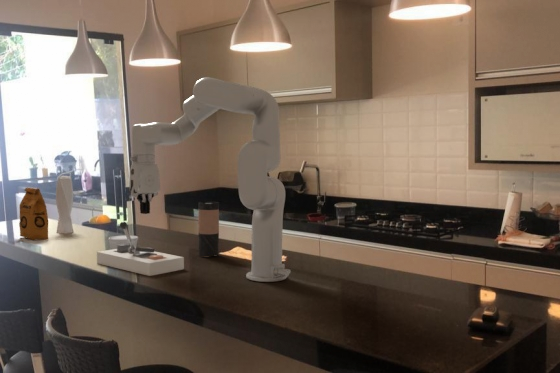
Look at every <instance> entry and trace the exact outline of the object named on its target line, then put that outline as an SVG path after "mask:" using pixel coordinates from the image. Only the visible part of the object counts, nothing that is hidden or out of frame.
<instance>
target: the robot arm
mask: <svg viewBox="0 0 560 373" xmlns="http://www.w3.org/2000/svg"><path fill="white" fill-rule="evenodd" d="M192 94H193V95H192V96H190V97H189V98H187V99H186V100H184V101H183V103H182V112H183V113H184V114H183V115H182V116H181V117H179V118H178V119H176V120H175V121H173V122H172V123H171V122H158V121H157V122H150V123H136V124H133V125H132V126H131V151H132V153H131V154H132V156H130V157H129V161H131V162H132V164H131V165H130V169H129V182H128V184H129V185H128V186H129V192H130V197H131V198H136V199H137V201H138V203H139V211H140V212H139V213H140V214H142V215H143V214H144V215H147V214H148V215H149V214H151V202H152V200H153V198H154V197H157V196H158V195H159V192H160V191H161V178H160V171H159V166H158V164H157V163H156V155H155V154H156V153H155V152H156V150H155V148H156V147H155V146H175V145H178V144H180V143H181V142H183V141H185V140H186V139H188V138H189V137H191V136H192V135H193V134H194V133H195V132H196V131H197V129H198V128H199V126H200V124H201V123H202V122H203V121H205V120H206V119H208V118H209V117H210V116H212V115H213V114H214V113H216V112H218V111H219V110H224V111H228V112H232V113H236V114H237V113H238V114H243V115H244V114H245V115H252V116H254V119H253V121H252V127H251V134H252V136H251V138H252V140H251V141H248V142H246V143H244V144H243V145H242V146H241V148H240V150H239V152H238V154H237V156H238V157H237V184H238V185H237V186H238V189H237V190H238V196H239V197H238V198H239V199H240V202H241V204H242V205H243V206H244V207H246V208H247V209H249V210H253V211H252V212H253V213H252V217H251V218H252V219H251V264H250V265H251V268H250V269H251V271H248V272H247V273H246V274H245V275H246V279H247V280H249V281H254V282H261V283H264V282H265V283H271V282H273V283H274V282H280V281H284V280H286V279H287V278H288V277H289V275H290V274H291V272H292V271H291V269H289V268H286V267H285V266H286V265H285V264H286V263H283V227H284V226H283V225H284V224H283V220H284V208H285V202H286V189H285V186H284V184H283V182H282V181H281V180H280V179H279V178H277V177H274V176H268V173H269V172H273V171H275V170H277V169H278V167H279V166H280V164H281V133H280V108H279V103H278V102H277V100H276V98H275V97H274V96H273V95H272V94H271V93H270V92H268V91H266V90H265V89H262V88H259V87H255V86H251V85H245V84H240V83H235V82H231V81H230V82H229V81H226V80H223V79H220V78H214V77H211V76H210V77H209V76H205V77H202V78H200V79H199V80H197V81H196V82H195V84H194V86H193V88H192Z"/></svg>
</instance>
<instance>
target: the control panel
mask: <svg viewBox="0 0 560 373" xmlns="http://www.w3.org/2000/svg"><path fill="white" fill-rule="evenodd" d="M130 250H131V247H130V248H128V252H126V253H119V252H117V249H113V250H111V249H108V250H107V249H105V250H100V251H96V264H99V265H103V266H106V267H111V268H115V269H118V270H119V269H120V270H123V271H124V270H125V271H128V272H132V273H136V274H140V275H144V276H147V277H151V276H157V275H161V274H167V273H171V272H177V271H182V270H184V269H185V257H184V256H179V255H175V254H169V253H164V252H159V251H155V250H154V252H140V251H135V250H136V249H134V253H132V252H131V251H130ZM151 255H163V259H159V260H152V259H150V256H151Z"/></svg>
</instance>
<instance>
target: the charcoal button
mask: <svg viewBox="0 0 560 373" xmlns="http://www.w3.org/2000/svg"><path fill="white" fill-rule="evenodd" d="M128 248H130V244H118V245H117V252H119V253H126V252H128Z"/></svg>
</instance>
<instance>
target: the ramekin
mask: <svg viewBox="0 0 560 373" xmlns="http://www.w3.org/2000/svg"><path fill="white" fill-rule="evenodd" d="M129 235H130V234H129ZM130 237H131V240H132V242H133V244H134V247H135V248H136V247H138V241H139V236H137V235H130ZM107 240H108V243H109V250H113V249H117V245H118V244H129V242H128V240H127V237H126V235H125V234H124V235H123V234H122V235H114V236H109V237H108V239H107Z"/></svg>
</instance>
